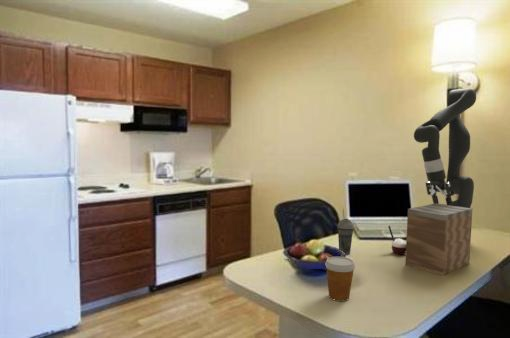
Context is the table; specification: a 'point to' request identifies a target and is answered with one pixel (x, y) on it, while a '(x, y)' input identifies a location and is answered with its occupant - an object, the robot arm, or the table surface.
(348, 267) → the disposable coffee cup
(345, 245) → the beverage cup
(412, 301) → the table surface
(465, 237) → the under counter cubby
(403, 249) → the cream-topped red cup
